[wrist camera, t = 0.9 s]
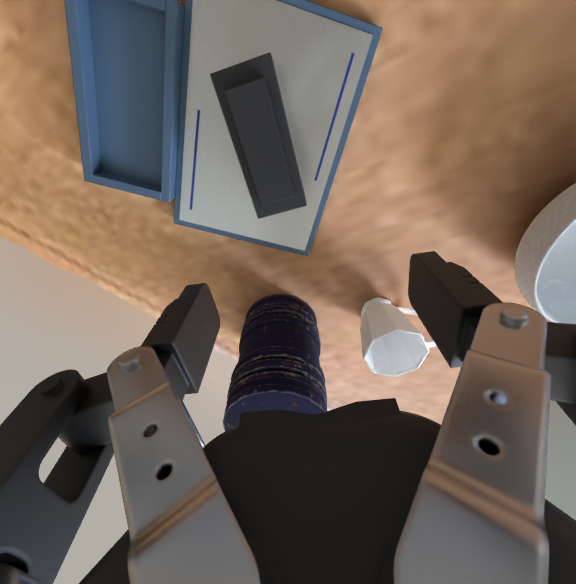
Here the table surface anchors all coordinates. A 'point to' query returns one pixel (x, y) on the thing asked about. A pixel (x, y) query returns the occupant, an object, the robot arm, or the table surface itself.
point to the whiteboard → (297, 102)
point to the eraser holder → (128, 91)
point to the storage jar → (277, 361)
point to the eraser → (260, 134)
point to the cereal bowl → (550, 260)
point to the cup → (391, 339)
